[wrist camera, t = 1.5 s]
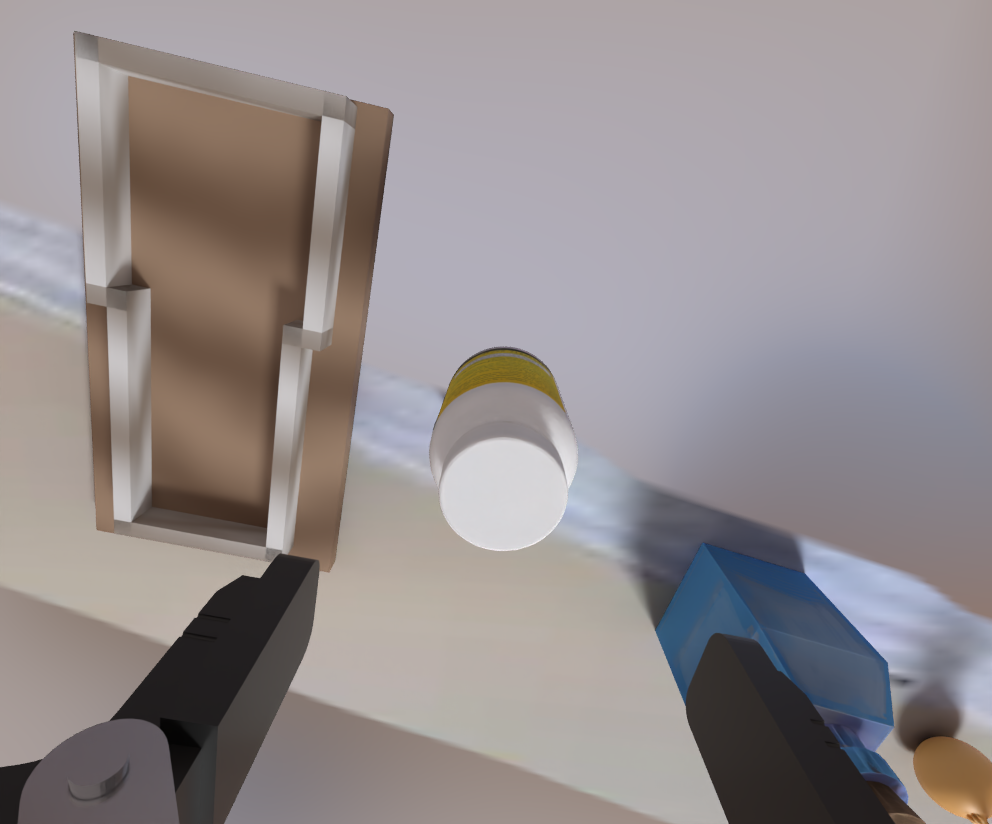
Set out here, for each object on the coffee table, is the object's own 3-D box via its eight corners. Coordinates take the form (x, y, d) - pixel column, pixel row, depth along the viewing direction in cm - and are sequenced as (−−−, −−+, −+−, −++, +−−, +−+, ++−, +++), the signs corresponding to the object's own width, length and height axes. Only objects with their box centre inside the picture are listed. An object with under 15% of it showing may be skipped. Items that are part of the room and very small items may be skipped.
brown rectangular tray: (93, 43, 20) (38, 15, 17) (393, 114, 20) (380, 98, 18) (110, 519, 27) (73, 546, 24) (335, 561, 27) (319, 591, 25)
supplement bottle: (430, 367, 24) (385, 446, 15) (536, 328, 23) (561, 384, 14) (471, 464, 26) (455, 591, 16) (572, 429, 25) (616, 540, 16)
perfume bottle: (655, 630, 29) (756, 882, 17) (702, 542, 27) (851, 760, 16) (751, 657, 29) (911, 918, 18) (804, 573, 28) (1020, 805, 16)
